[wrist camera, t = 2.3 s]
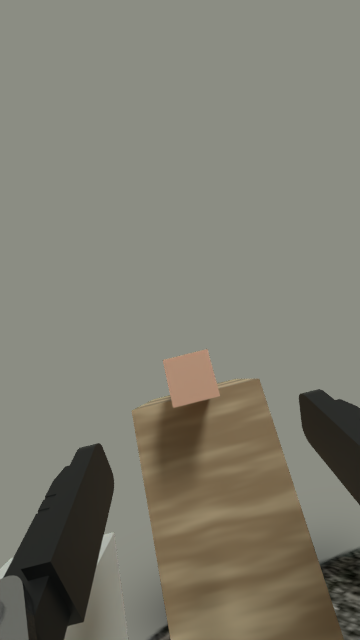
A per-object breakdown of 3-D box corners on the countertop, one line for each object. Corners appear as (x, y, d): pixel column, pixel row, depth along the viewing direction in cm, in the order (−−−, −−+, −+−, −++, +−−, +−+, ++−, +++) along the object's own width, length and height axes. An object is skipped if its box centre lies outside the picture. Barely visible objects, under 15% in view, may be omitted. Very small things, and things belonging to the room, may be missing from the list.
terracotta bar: (220, 396, 16) (207, 349, 17) (173, 408, 16) (162, 360, 17) (204, 386, 37) (199, 365, 38) (184, 391, 37) (179, 370, 38)
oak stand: (410, 843, 15) (259, 378, 24) (213, 895, 15) (131, 410, 24) (308, 627, 29) (235, 378, 37) (204, 654, 29) (153, 399, 37)
